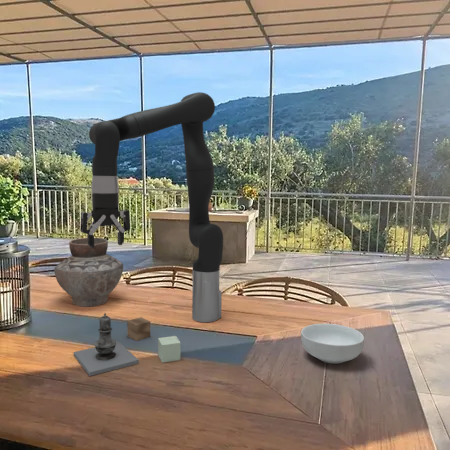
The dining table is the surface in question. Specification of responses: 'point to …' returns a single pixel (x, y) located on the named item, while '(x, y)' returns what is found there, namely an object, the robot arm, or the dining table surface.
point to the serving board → (100, 366)
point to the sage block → (169, 349)
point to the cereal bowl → (332, 342)
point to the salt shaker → (105, 340)
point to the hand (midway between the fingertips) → (106, 246)
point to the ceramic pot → (89, 272)
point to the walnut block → (138, 329)
